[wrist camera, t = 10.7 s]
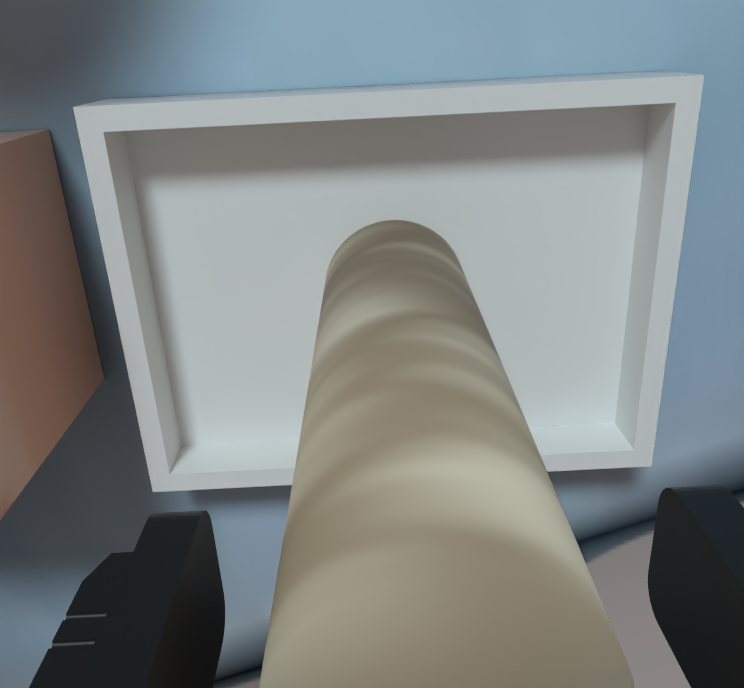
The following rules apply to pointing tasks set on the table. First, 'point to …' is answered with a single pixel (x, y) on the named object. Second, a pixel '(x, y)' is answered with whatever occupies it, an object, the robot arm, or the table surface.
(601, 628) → the maple peg
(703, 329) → the table surface
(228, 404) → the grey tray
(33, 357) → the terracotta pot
